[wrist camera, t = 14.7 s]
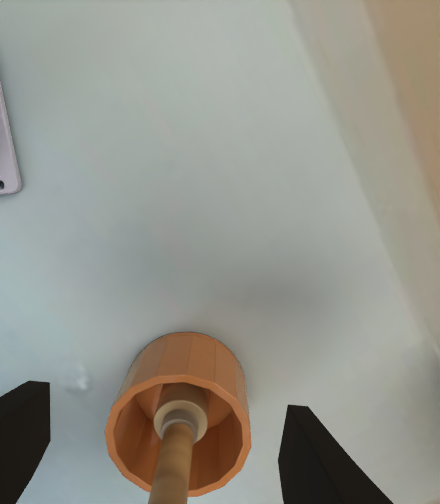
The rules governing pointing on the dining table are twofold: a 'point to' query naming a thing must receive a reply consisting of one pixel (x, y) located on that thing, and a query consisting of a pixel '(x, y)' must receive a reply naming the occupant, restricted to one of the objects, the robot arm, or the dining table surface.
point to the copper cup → (146, 400)
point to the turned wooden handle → (177, 439)
